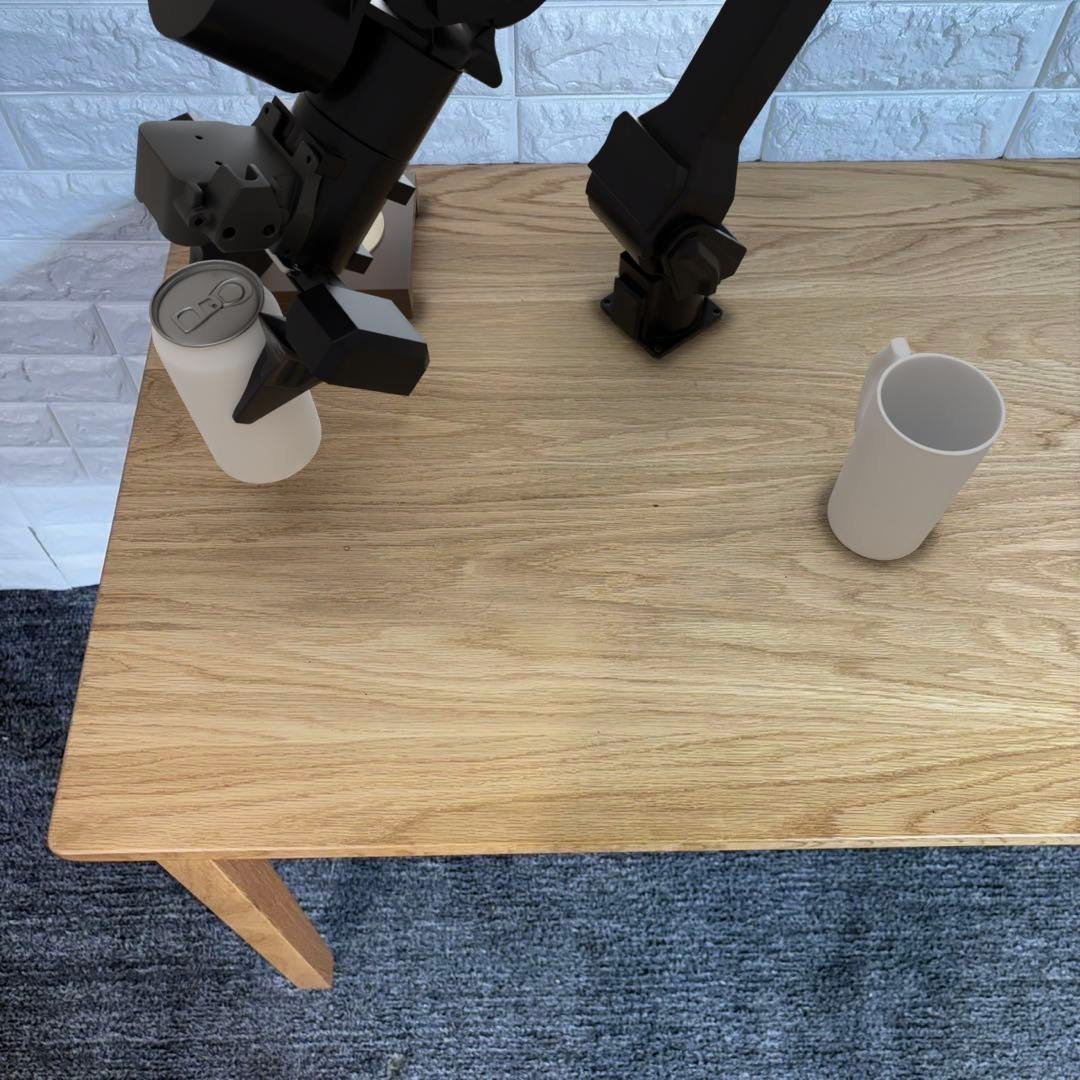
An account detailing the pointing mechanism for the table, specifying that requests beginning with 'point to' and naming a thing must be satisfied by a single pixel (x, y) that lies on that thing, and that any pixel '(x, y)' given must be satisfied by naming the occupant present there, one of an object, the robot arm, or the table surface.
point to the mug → (911, 448)
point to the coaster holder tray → (390, 263)
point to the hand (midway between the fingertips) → (214, 382)
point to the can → (228, 369)
